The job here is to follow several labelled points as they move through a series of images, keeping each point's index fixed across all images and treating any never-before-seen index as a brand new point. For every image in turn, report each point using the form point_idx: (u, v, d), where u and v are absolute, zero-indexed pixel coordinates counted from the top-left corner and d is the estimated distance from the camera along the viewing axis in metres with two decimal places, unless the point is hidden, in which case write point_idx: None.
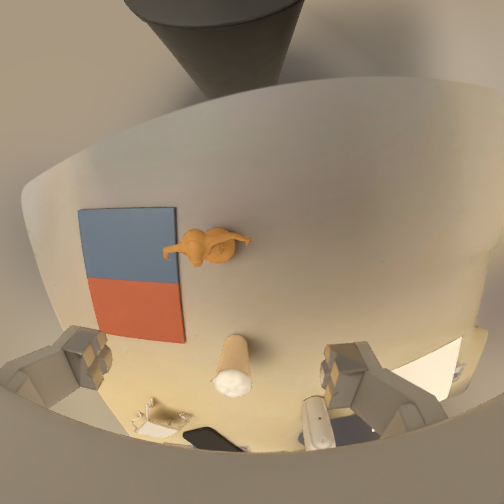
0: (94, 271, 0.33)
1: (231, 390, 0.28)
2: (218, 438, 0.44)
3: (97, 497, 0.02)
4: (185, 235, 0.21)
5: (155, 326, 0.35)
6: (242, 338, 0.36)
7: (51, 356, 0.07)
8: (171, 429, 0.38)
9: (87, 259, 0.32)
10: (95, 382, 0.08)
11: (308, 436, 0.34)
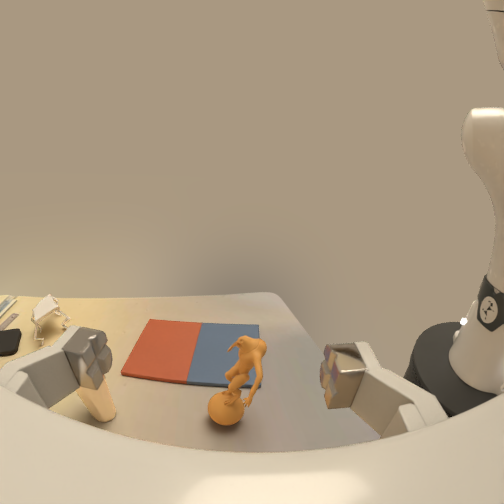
0: (206, 328, 0.43)
1: None
2: None
3: (97, 497, 0.02)
4: (262, 340, 0.24)
5: (145, 356, 0.35)
6: (110, 417, 0.24)
7: (51, 356, 0.07)
8: (39, 317, 0.33)
9: (217, 325, 0.44)
10: (95, 382, 0.08)
11: None
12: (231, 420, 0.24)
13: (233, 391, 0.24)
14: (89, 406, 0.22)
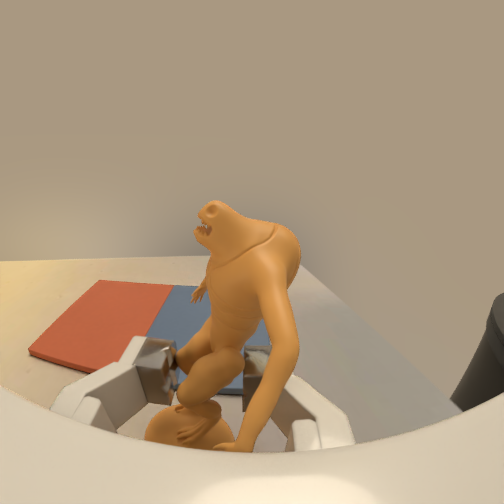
0: (179, 292, 0.26)
1: None
2: None
3: (97, 497, 0.02)
4: None
5: (71, 328, 0.19)
6: None
7: (122, 374, 0.07)
8: None
9: None
10: (169, 397, 0.08)
11: None
12: None
13: (195, 408, 0.07)
14: None
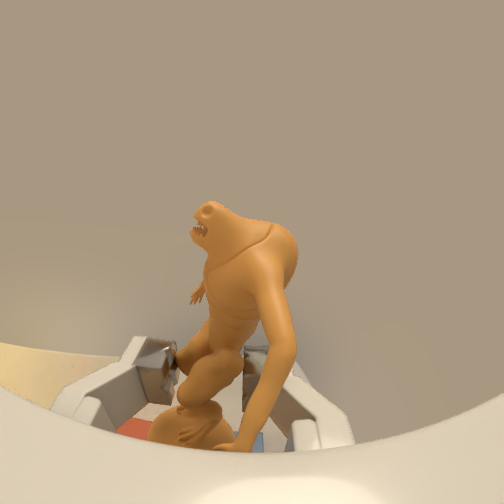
0: None
1: None
2: None
3: (97, 497, 0.02)
4: None
5: None
6: None
7: (122, 374, 0.07)
8: None
9: None
10: (169, 397, 0.08)
11: None
12: None
13: (196, 408, 0.07)
14: None
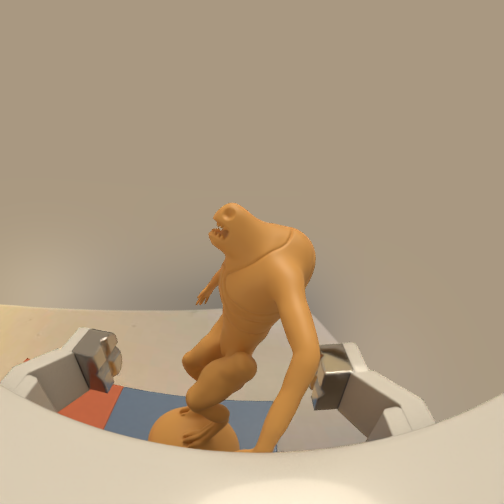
0: (128, 407, 0.13)
1: None
2: None
3: (97, 497, 0.02)
4: None
5: None
6: None
7: (60, 359, 0.07)
8: None
9: (158, 400, 0.14)
10: (106, 385, 0.08)
11: None
12: None
13: (204, 412, 0.07)
14: None
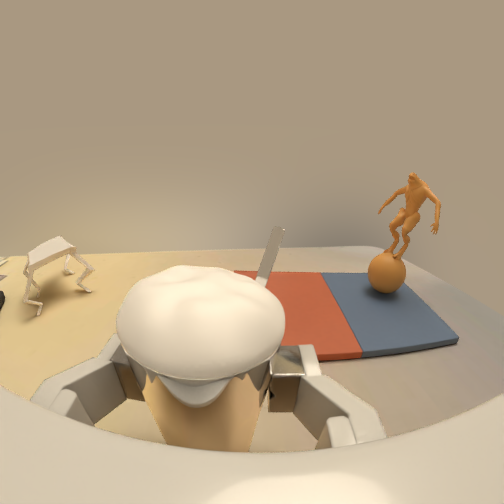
0: (332, 278, 0.28)
1: (191, 279, 0.07)
2: None
3: (97, 497, 0.02)
4: None
5: None
6: None
7: (99, 369, 0.07)
8: (38, 260, 0.18)
9: (344, 274, 0.29)
10: None
11: None
12: (401, 278, 0.23)
13: (406, 236, 0.22)
14: None
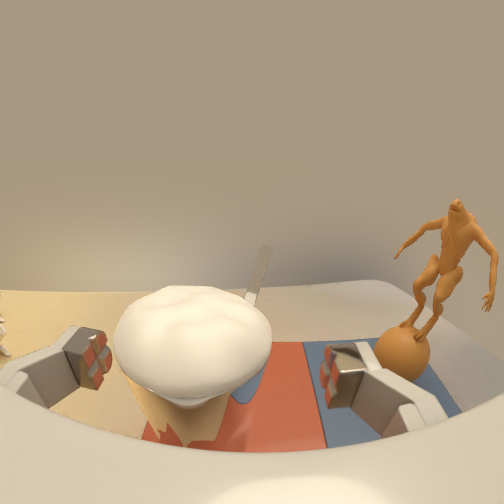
0: (318, 354, 0.18)
1: (180, 302, 0.07)
2: None
3: (97, 497, 0.02)
4: None
5: None
6: None
7: (51, 356, 0.07)
8: None
9: None
10: (95, 382, 0.08)
11: None
12: (422, 369, 0.13)
13: (438, 306, 0.13)
14: None
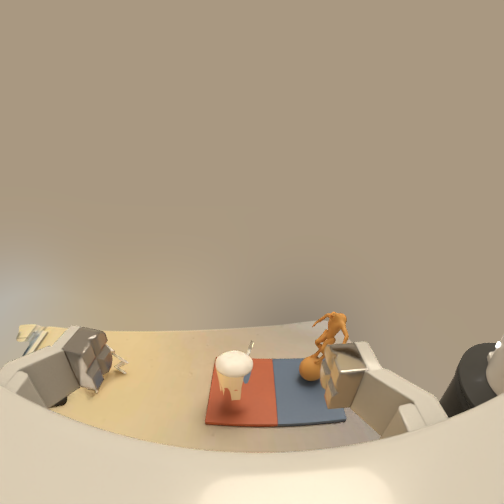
0: (278, 365, 0.42)
1: (232, 357, 0.31)
2: None
3: (97, 497, 0.02)
4: None
5: None
6: (244, 406, 0.33)
7: (51, 356, 0.07)
8: None
9: (288, 361, 0.43)
10: (95, 382, 0.08)
11: None
12: (318, 375, 0.36)
13: (323, 351, 0.36)
14: (233, 399, 0.31)
